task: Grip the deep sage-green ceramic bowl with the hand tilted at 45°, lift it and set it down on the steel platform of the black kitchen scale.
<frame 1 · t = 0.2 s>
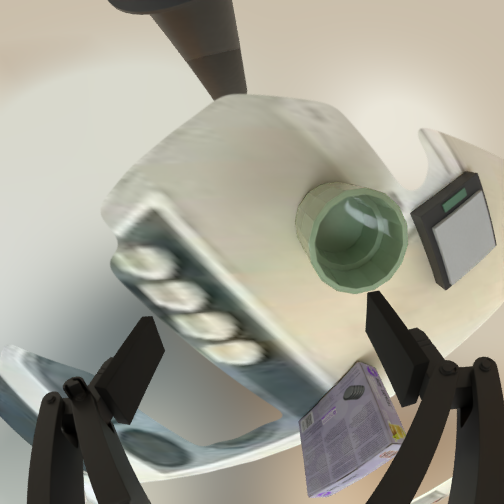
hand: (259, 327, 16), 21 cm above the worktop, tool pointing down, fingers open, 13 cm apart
scale: (453, 228, 34), on the worktop
cake pan box: (333, 398, 44), on the worktop
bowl: (334, 221, 35), on the worktop
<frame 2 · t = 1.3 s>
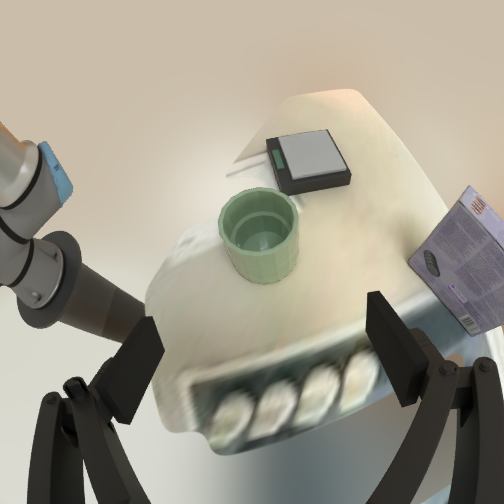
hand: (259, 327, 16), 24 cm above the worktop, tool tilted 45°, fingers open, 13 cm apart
scale: (306, 165, 52), on the worktop
cake pan box: (449, 294, 37), on the worktop
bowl: (265, 254, 44), on the worktop
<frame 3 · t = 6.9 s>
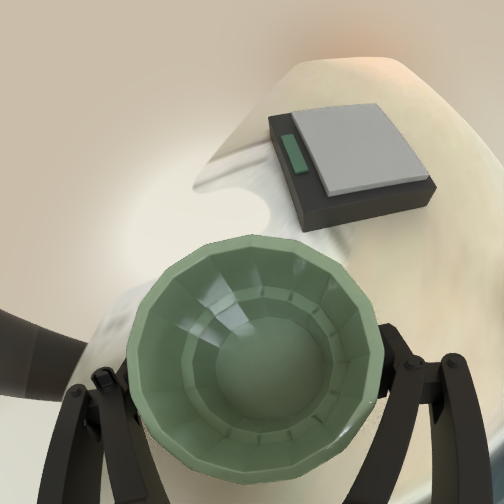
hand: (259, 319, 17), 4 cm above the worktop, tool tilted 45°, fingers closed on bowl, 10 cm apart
scale: (346, 166, 26), on the worktop
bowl: (269, 369, 19), on the worktop, touching gripper
when the fingers open (8 cm above the worktop, at t = 15.7 s): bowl stays where it is, resting on scale.
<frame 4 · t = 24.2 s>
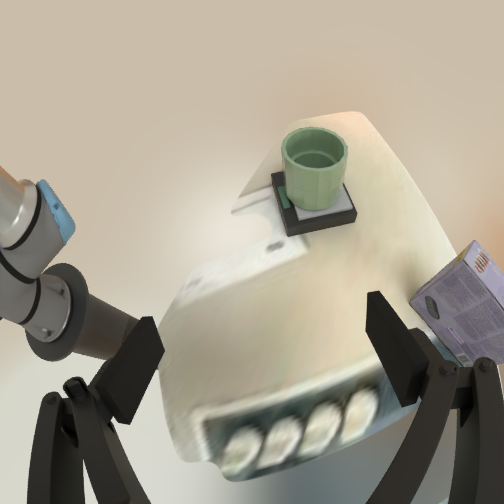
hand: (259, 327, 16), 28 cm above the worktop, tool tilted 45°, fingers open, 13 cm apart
scale: (312, 201, 52), on the worktop
cake pan box: (447, 331, 37), on the worktop
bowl: (313, 189, 49), point 4 cm above the worktop, touching scale
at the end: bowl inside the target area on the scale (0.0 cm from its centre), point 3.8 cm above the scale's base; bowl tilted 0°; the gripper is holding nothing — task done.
